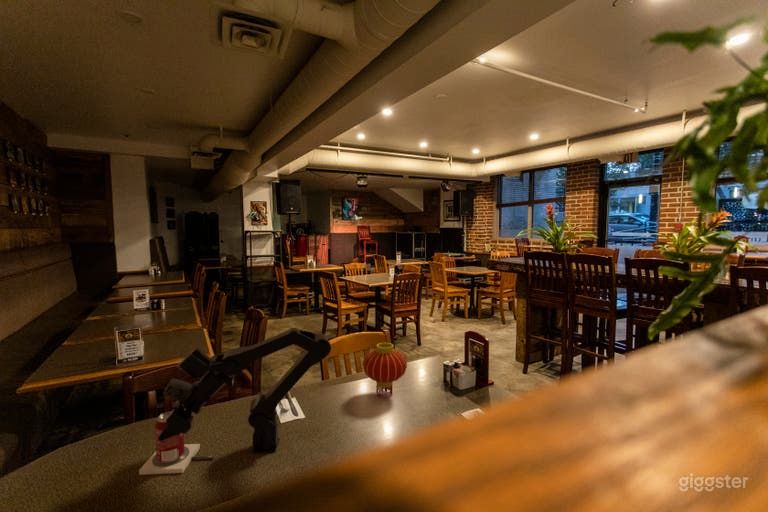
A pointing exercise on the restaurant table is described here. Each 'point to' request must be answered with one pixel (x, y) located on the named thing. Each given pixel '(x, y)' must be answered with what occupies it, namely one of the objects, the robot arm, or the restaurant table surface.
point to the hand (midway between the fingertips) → (164, 430)
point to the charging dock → (176, 466)
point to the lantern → (384, 366)
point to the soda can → (168, 442)
